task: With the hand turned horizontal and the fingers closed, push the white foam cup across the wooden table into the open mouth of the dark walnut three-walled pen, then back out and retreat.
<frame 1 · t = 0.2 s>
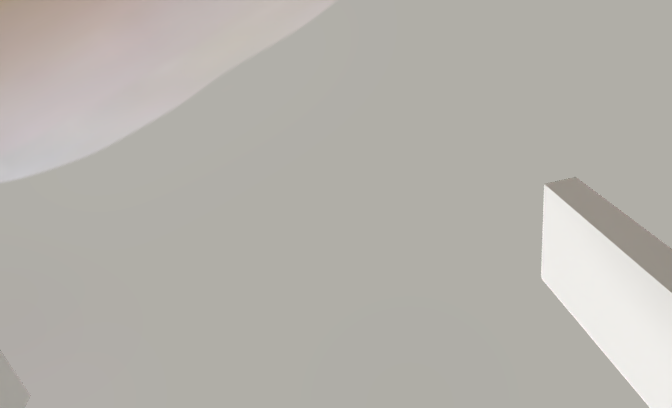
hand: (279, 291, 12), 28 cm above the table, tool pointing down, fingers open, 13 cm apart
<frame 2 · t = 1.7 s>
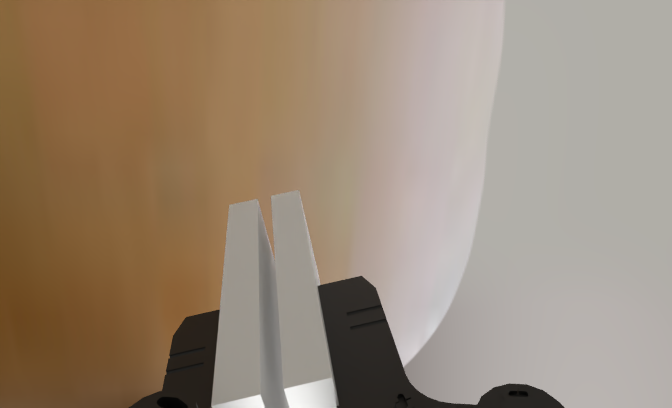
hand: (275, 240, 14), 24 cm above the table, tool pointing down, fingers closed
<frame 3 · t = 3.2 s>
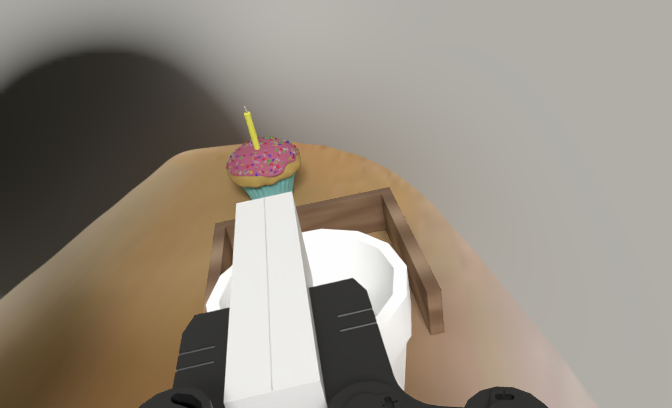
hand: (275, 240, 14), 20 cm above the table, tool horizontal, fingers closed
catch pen: (319, 288, 44), on the table
cupcake: (272, 198, 60), on the table
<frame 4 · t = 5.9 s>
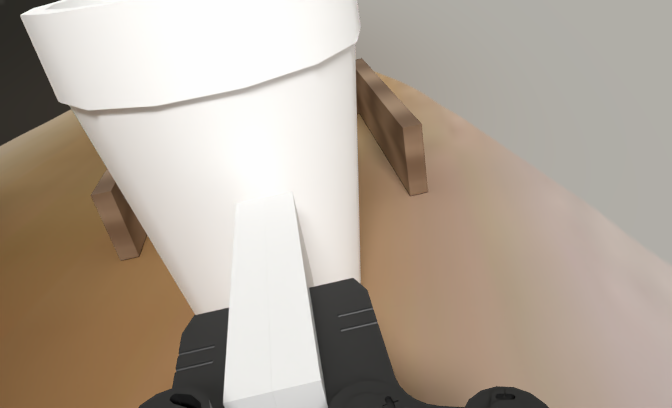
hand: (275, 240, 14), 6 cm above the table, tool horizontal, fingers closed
foam cup: (287, 314, 21), on the table, touching gripper
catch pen: (271, 167, 35), on the table
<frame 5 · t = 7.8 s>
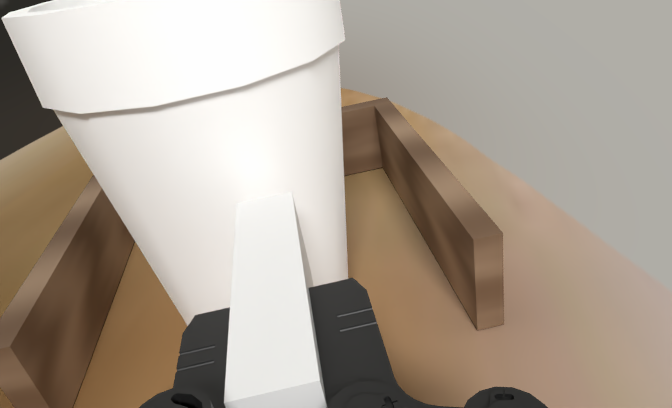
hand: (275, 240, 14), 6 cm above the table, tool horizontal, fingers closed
foam cup: (276, 317, 21), on the table, touching gripper
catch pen: (267, 256, 25), on the table
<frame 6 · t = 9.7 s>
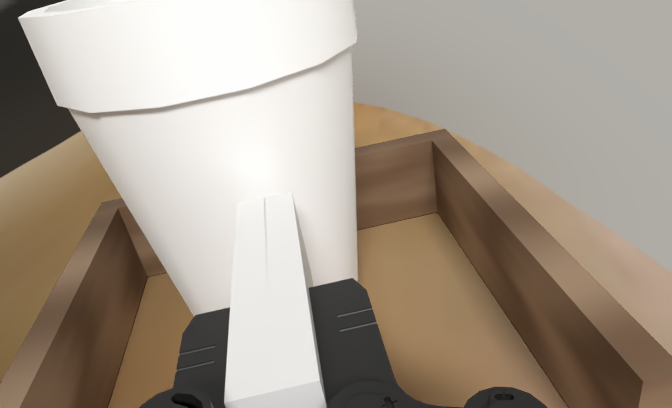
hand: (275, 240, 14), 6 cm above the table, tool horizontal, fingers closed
foam cup: (285, 316, 21), on the table, touching gripper
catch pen: (307, 339, 20), on the table
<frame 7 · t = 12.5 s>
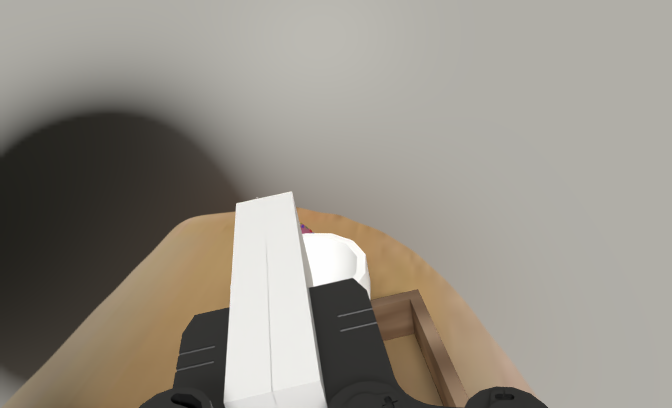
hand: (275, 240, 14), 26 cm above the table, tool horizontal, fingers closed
foam cup: (332, 401, 41), on the table
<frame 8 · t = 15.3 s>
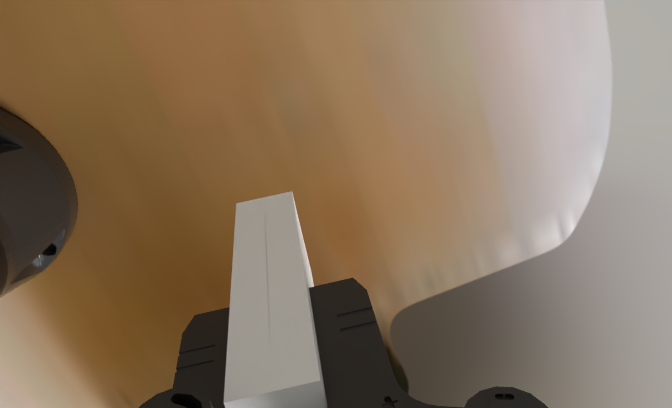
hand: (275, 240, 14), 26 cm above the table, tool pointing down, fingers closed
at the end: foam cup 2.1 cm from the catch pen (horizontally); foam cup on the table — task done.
